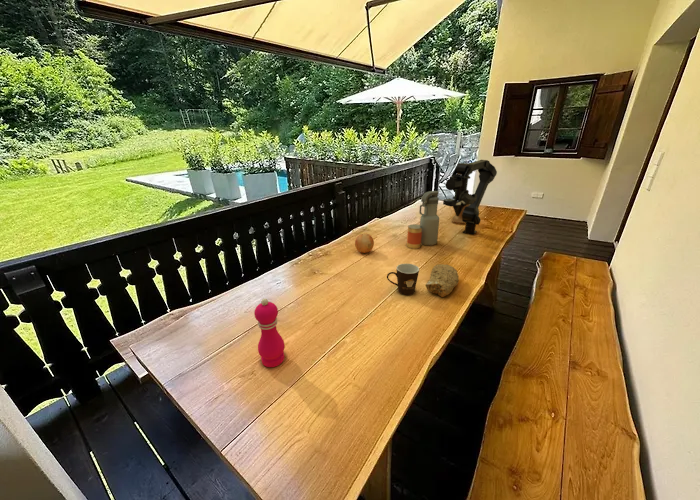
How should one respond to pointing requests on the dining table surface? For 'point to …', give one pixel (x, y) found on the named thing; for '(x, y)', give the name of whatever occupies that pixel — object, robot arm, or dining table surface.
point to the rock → (442, 279)
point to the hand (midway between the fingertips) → (457, 216)
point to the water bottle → (429, 218)
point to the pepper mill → (269, 334)
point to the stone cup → (459, 218)
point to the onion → (364, 243)
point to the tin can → (414, 236)
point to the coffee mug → (406, 278)
